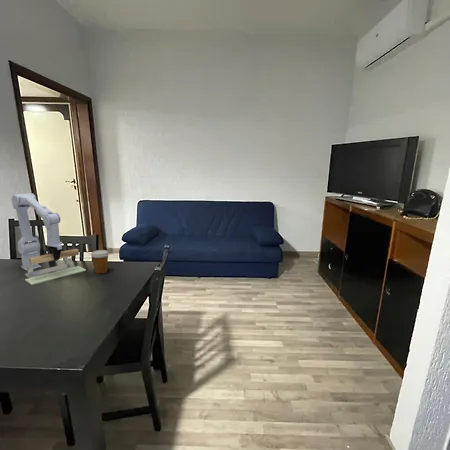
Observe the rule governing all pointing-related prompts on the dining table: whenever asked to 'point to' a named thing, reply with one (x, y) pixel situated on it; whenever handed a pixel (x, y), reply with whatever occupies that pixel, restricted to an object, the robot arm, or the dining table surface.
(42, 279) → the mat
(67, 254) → the rail
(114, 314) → the dining table surface
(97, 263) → the disposable coffee cup
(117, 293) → the dining table surface
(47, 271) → the rack
